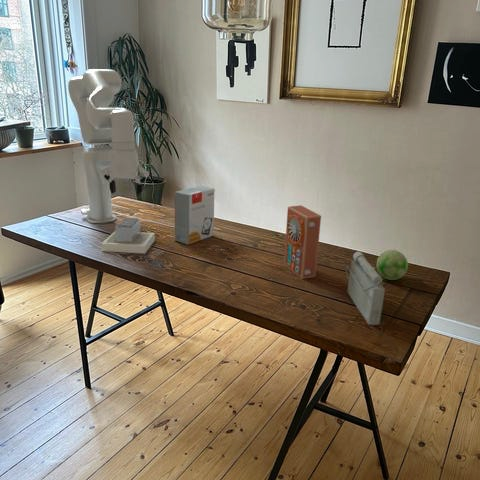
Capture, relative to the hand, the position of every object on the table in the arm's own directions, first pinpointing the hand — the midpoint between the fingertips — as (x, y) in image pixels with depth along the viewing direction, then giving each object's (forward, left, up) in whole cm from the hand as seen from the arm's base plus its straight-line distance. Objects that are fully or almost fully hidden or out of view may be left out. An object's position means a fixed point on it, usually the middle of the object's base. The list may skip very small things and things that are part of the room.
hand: (126, 193), depth 166 cm
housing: (0, 0, -17) cm, 17 cm away
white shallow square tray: (0, -1, -20) cm, 20 cm away
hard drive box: (+23, +11, -21) cm, 33 cm away
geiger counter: (+81, -36, -21) cm, 90 cm away
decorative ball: (+94, -17, -21) cm, 98 cm away
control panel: (+64, -15, -21) cm, 69 cm away
